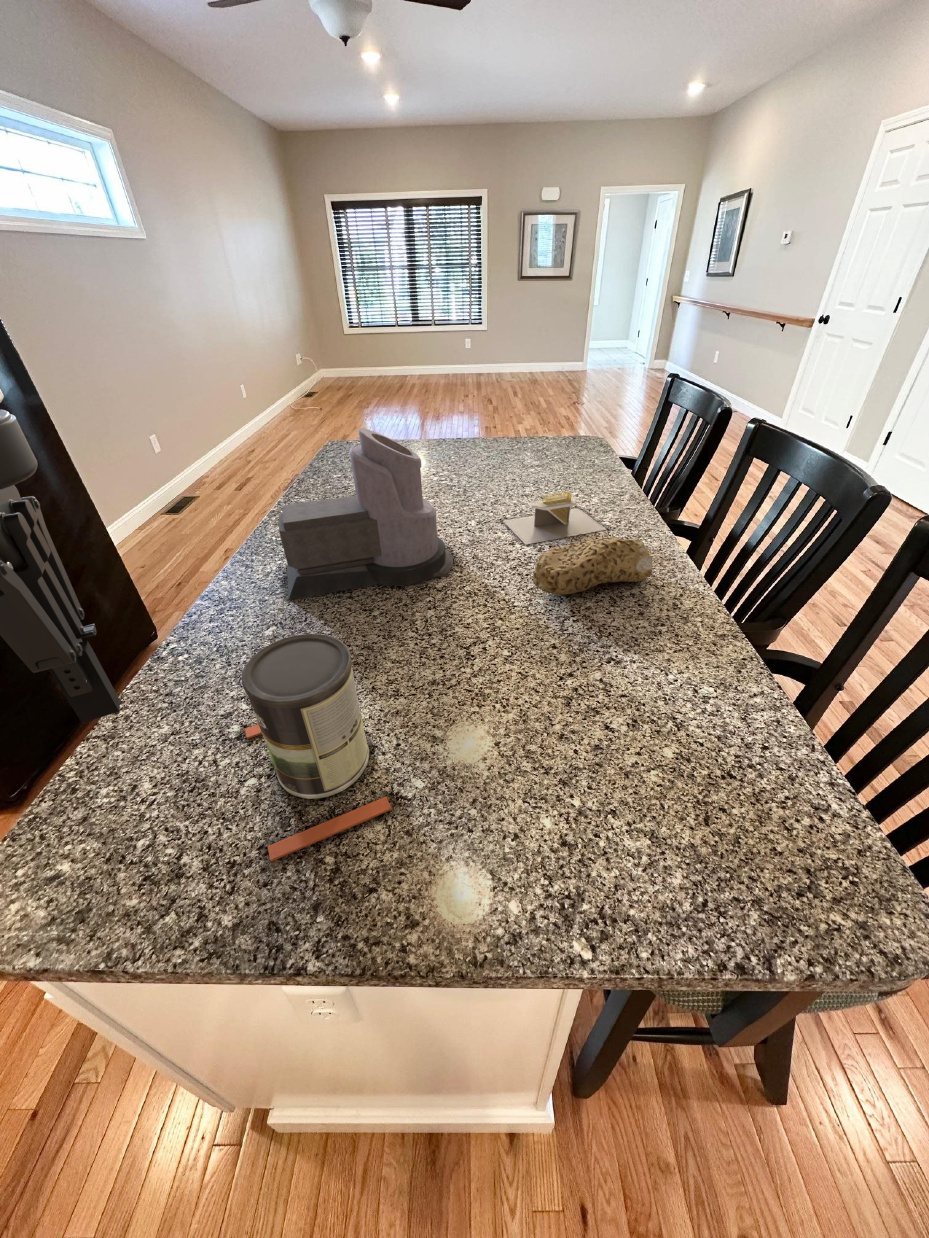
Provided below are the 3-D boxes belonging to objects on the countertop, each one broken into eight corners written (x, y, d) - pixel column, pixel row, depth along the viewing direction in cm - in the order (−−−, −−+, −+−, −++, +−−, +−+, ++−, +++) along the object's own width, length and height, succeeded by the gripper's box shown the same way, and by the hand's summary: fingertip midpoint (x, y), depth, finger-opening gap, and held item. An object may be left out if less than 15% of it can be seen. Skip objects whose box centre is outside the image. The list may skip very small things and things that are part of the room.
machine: (440, 537, 103) (432, 409, 89) (463, 575, 91) (458, 433, 77) (286, 562, 97) (252, 428, 83) (288, 606, 84) (248, 457, 70)
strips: (270, 861, 48) (270, 860, 48) (245, 730, 62) (244, 728, 62) (391, 809, 52) (391, 808, 52) (342, 697, 66) (342, 695, 66)
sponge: (626, 565, 94) (522, 551, 91) (645, 530, 89) (534, 514, 86) (646, 615, 85) (531, 601, 82) (668, 580, 80) (545, 564, 77)
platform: (606, 529, 104) (611, 498, 100) (525, 544, 100) (527, 513, 96) (577, 508, 113) (580, 479, 110) (502, 520, 109) (502, 491, 105)
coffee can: (275, 811, 53) (236, 713, 44) (277, 737, 61) (244, 643, 53) (376, 786, 55) (356, 688, 47) (364, 718, 63) (346, 625, 55)
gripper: (-18, 435, 26) (150, 749, 39) (29, 390, 36) (151, 655, 49) (-221, 457, 23) (34, 786, 37) (-111, 403, 33) (59, 679, 46)
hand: (101, 711), depth 43 cm, fingers closed
